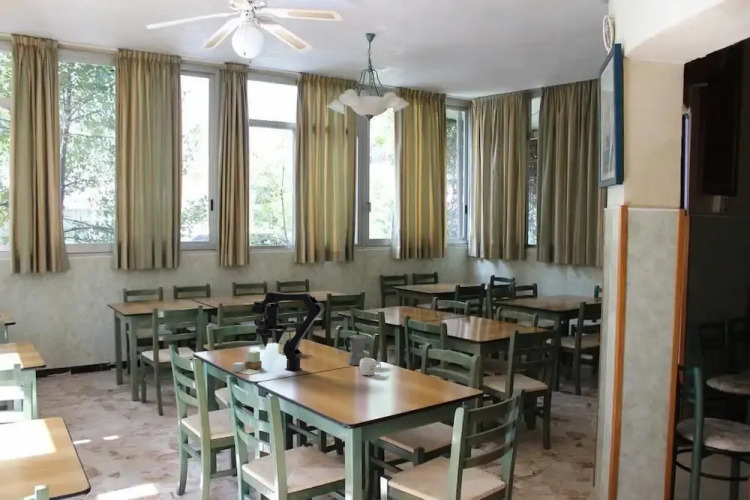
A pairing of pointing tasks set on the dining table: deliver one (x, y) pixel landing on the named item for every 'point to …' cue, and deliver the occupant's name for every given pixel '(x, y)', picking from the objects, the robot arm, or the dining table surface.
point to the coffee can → (286, 338)
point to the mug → (368, 366)
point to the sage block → (253, 356)
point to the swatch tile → (249, 372)
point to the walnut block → (253, 365)
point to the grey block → (238, 367)
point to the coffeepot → (355, 348)
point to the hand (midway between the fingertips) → (271, 344)
